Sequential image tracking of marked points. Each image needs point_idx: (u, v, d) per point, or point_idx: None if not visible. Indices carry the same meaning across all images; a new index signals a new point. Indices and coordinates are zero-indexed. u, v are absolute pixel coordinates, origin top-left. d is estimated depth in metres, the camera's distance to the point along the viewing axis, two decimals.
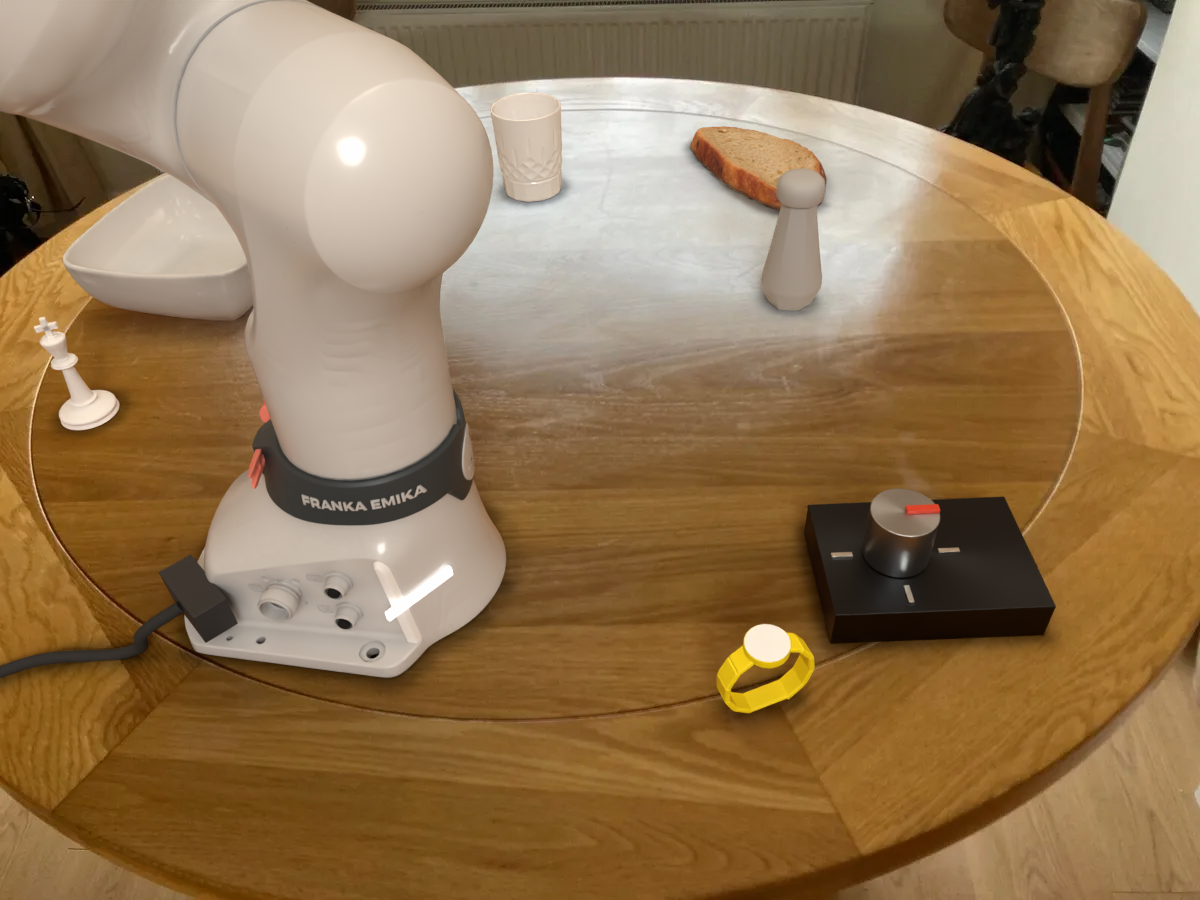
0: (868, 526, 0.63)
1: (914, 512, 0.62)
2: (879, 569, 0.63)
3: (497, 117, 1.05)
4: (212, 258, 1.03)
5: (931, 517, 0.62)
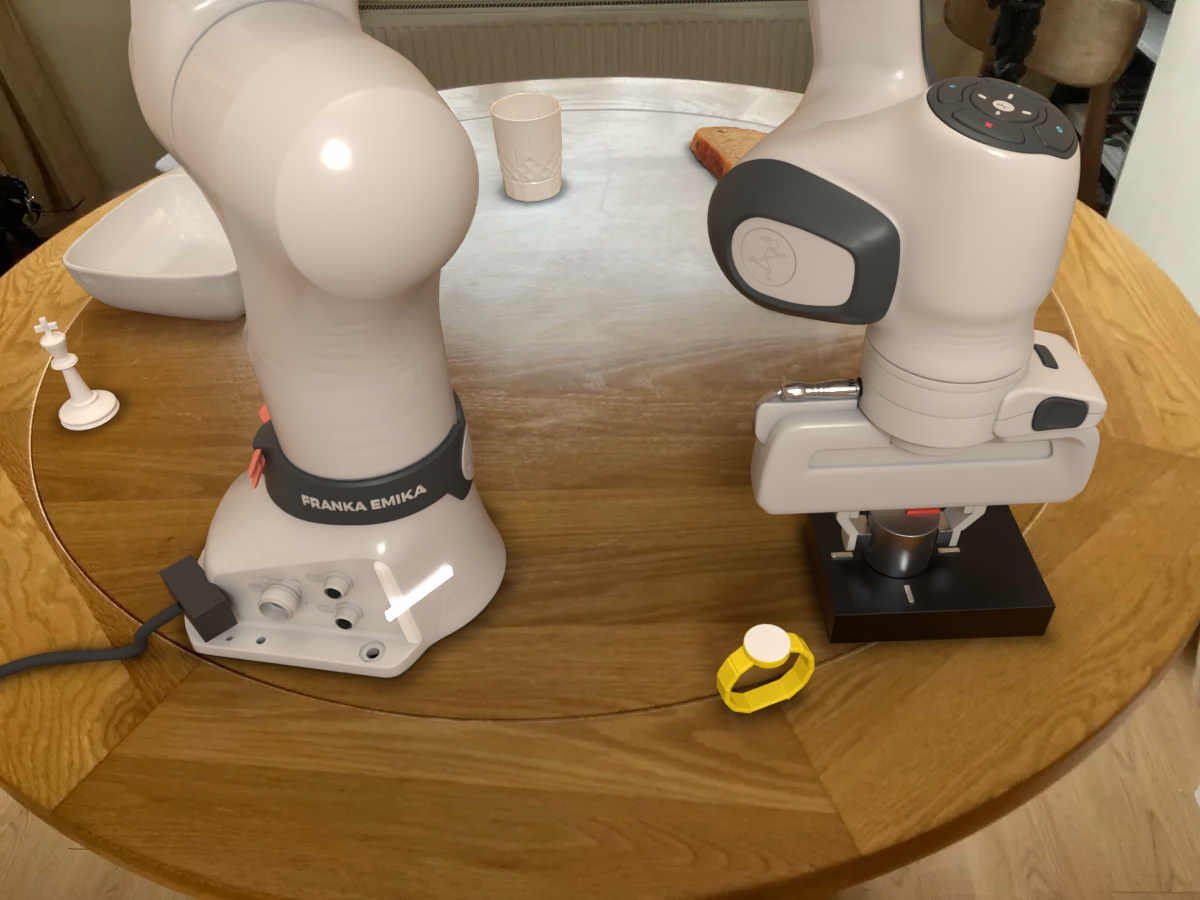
0: None
1: (914, 512, 0.62)
2: (879, 569, 0.63)
3: (497, 117, 1.05)
4: (212, 259, 1.03)
5: (931, 517, 0.62)
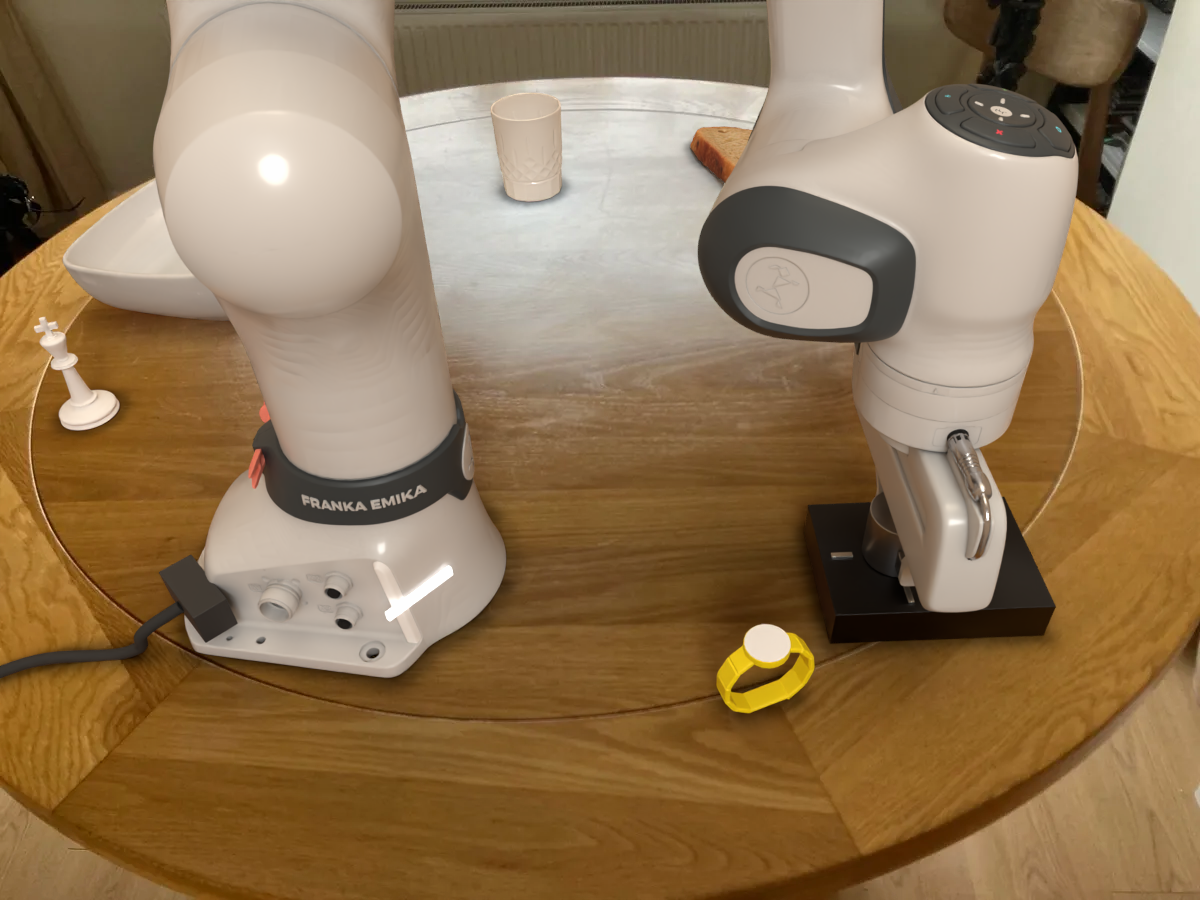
0: None
1: None
2: None
3: (497, 117, 1.05)
4: None
5: None
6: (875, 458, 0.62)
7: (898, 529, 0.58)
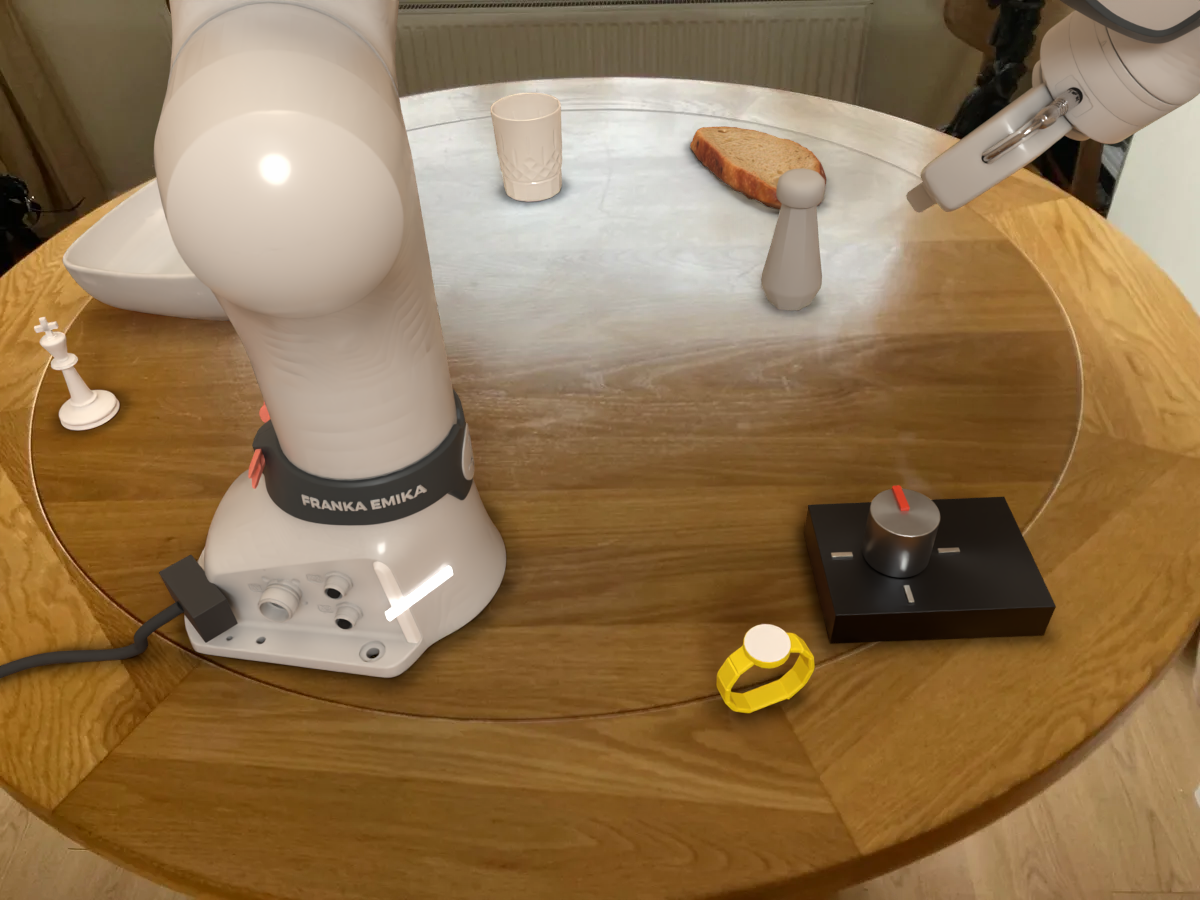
0: (912, 549, 0.61)
1: (907, 504, 0.62)
2: (926, 564, 0.64)
3: (497, 117, 1.05)
4: None
5: (907, 494, 0.63)
6: None
7: (965, 136, 0.67)
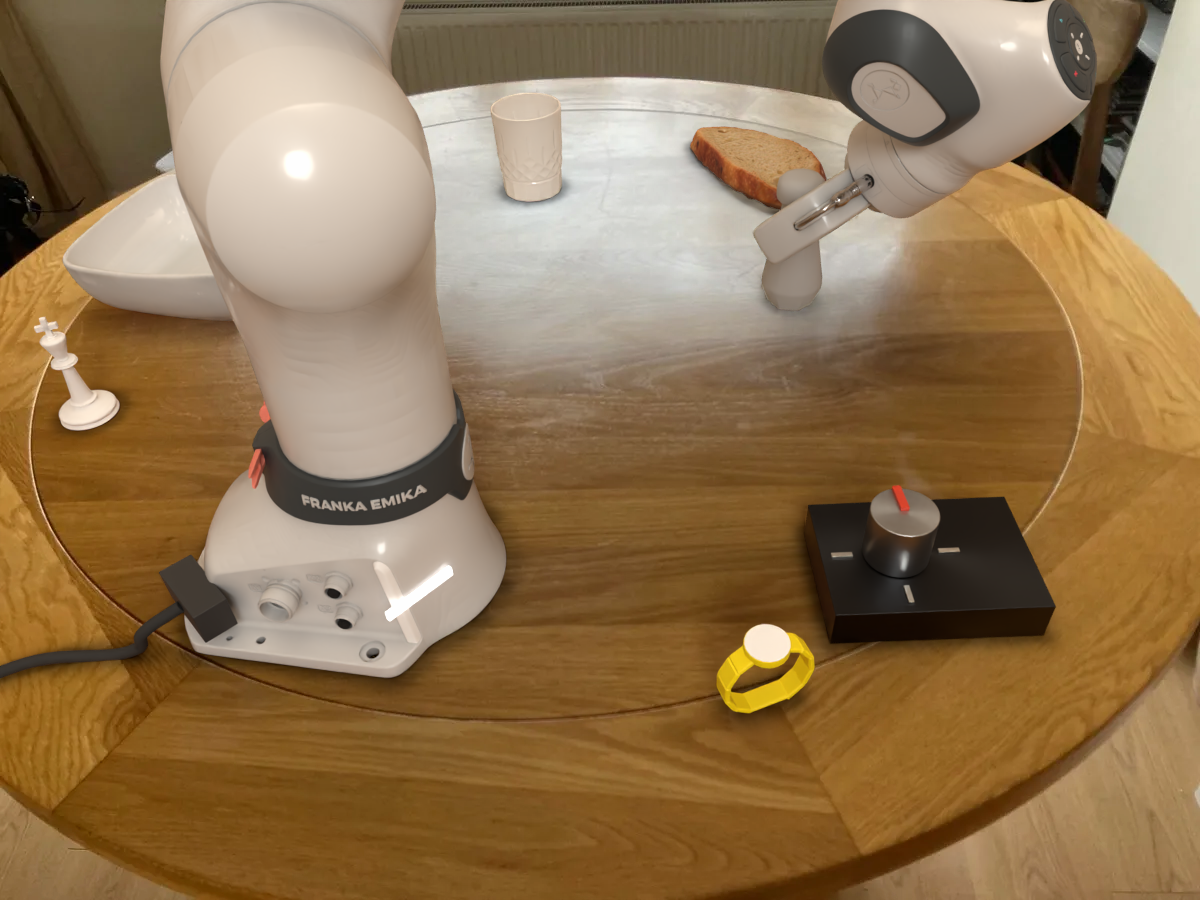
0: (912, 549, 0.61)
1: (907, 504, 0.62)
2: (926, 564, 0.64)
3: (497, 117, 1.05)
4: None
5: (907, 494, 0.63)
6: None
7: None
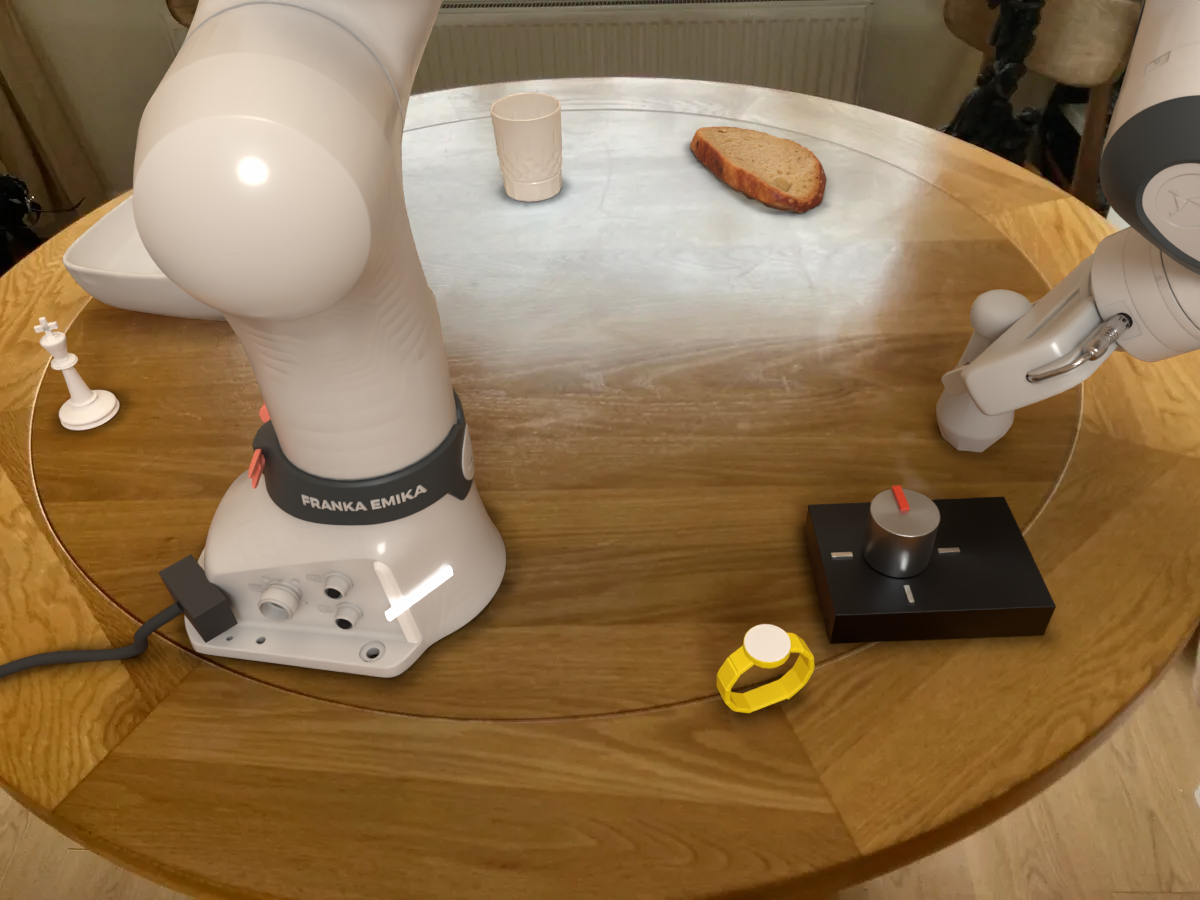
0: (912, 549, 0.61)
1: (907, 504, 0.62)
2: (926, 564, 0.64)
3: (497, 117, 1.05)
4: None
5: (907, 494, 0.63)
6: (1049, 294, 0.69)
7: (1006, 332, 0.66)
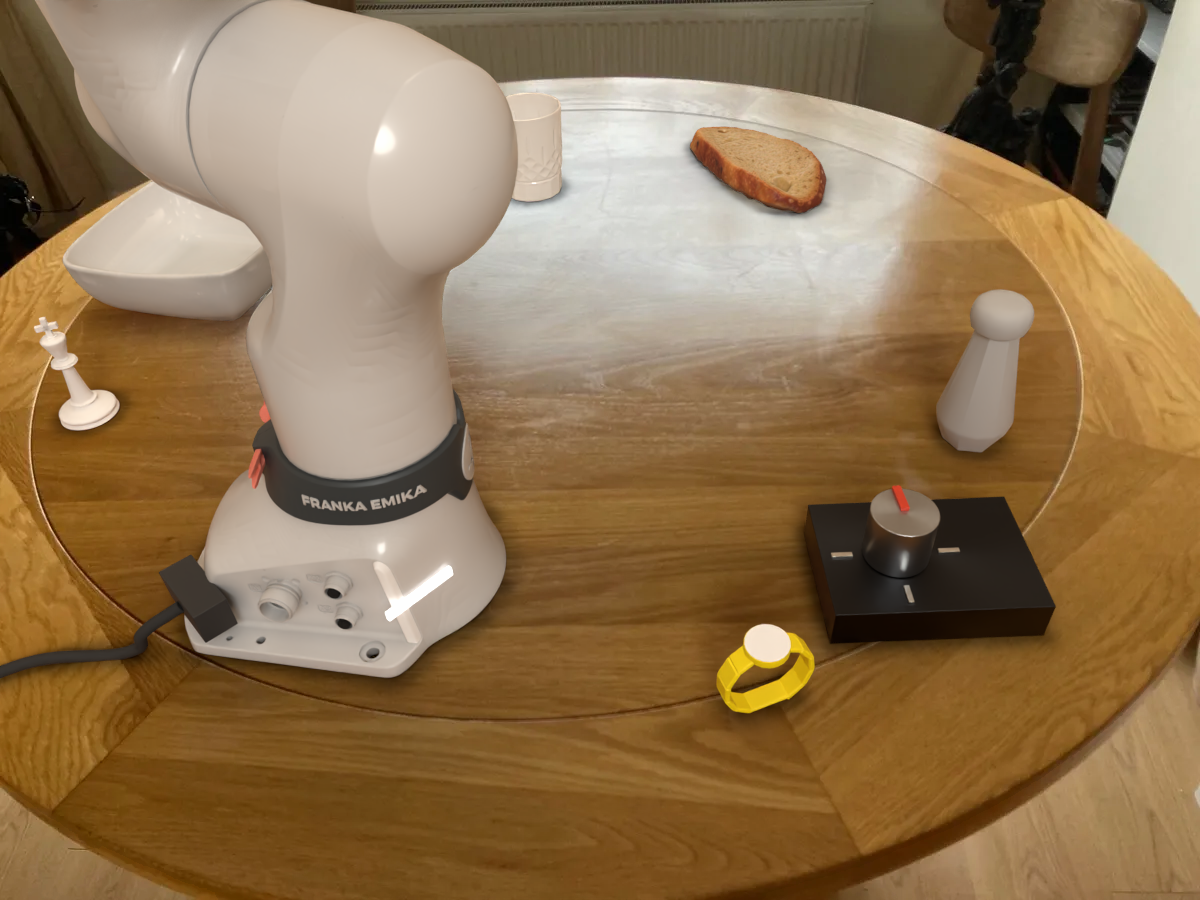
0: (912, 549, 0.61)
1: (907, 504, 0.62)
2: (926, 564, 0.64)
3: None
4: (212, 258, 1.03)
5: (907, 494, 0.63)
6: None
7: None
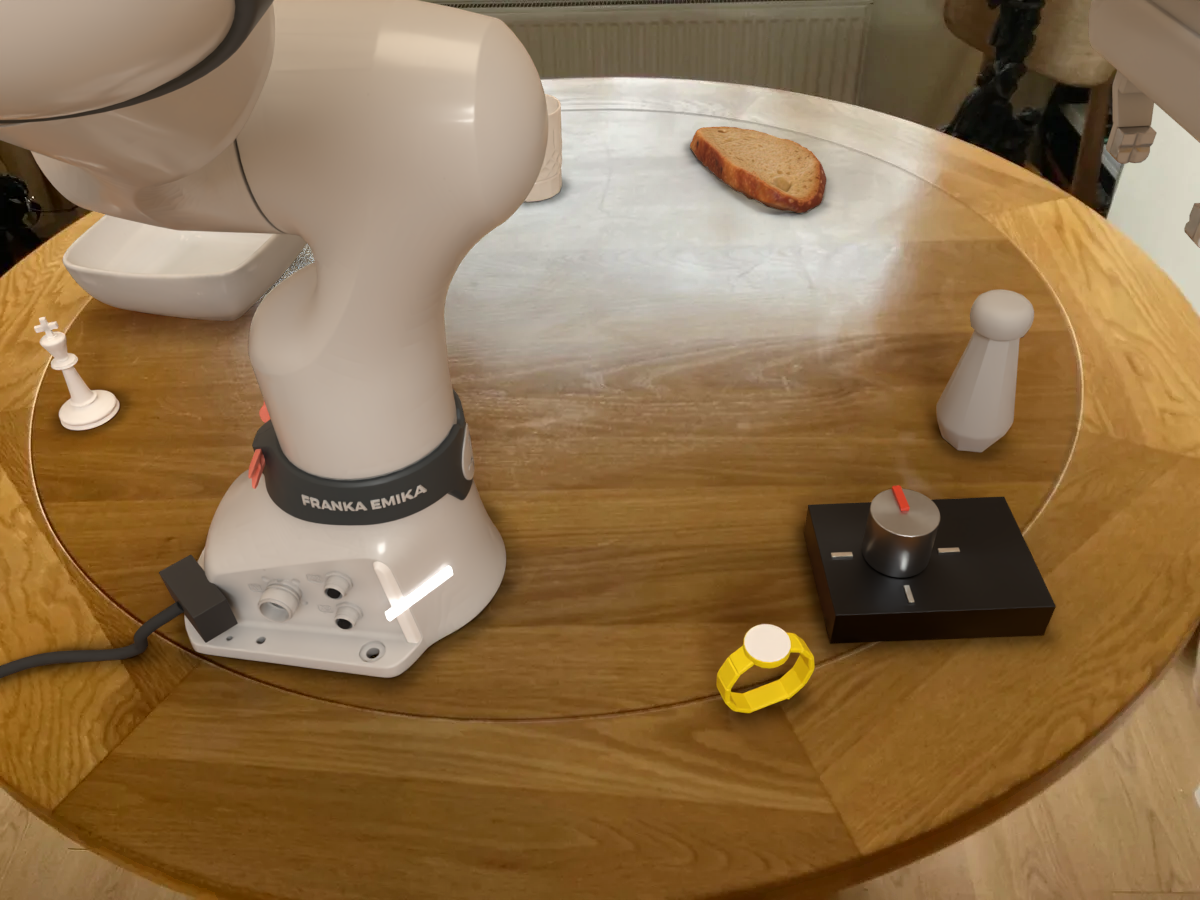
0: (912, 549, 0.61)
1: (907, 504, 0.62)
2: (926, 564, 0.64)
3: None
4: (212, 258, 1.03)
5: (907, 494, 0.63)
6: (1143, 73, 0.49)
7: None
